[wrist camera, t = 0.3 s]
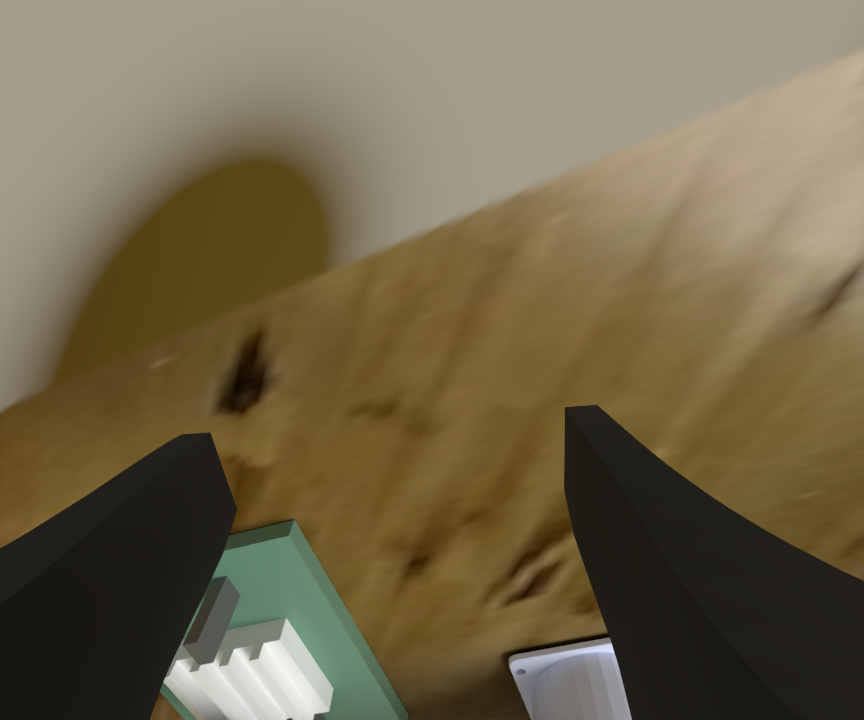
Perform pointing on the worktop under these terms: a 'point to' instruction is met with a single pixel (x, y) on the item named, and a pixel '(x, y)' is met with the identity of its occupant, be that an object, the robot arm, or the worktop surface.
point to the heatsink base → (276, 641)
